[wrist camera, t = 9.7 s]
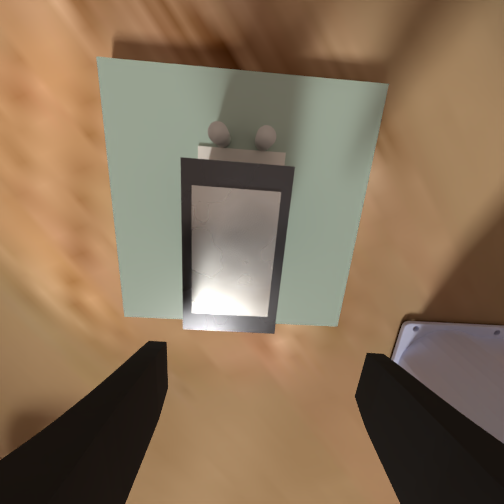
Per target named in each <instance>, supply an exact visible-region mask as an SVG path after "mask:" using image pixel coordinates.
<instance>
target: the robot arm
mask: <svg viewBox="0 0 504 504" xmlns="http://www.w3.org/2000/svg"><path fill="white" fill-rule="evenodd" d="M415 326H416V327H415ZM414 327H415V328H414ZM167 389H168V374H167V344H166V342H158V341H148V342H147V343H146V344H145V345H144V346H142V347H141V348H140V349H139V350H138V351H137V352H136V353H135V354H134V355H132V356H131V357H130V358H129V359H128V360H127V361H126V362H125V363H124V364H122V365H121V366H120V367H119V368H118V369H117V370H116V371H115V372H113V373H112V374H111V375H110V376H109V377H108V378H106V379H105V380H104V381H103V382H102V383H101V384H99V385H98V386H97V387H96V388H95V389H94V390H92V391H91V392H90V393H89V394H88V395H86V396H85V397H84V398H83V399H81V400H80V401H79V402H78V403H76V404H75V405H74V406H73V407H71V408H70V409H69V410H68V411H66V412H65V413H64V414H63V415H62V416H60V417H59V418H58V419H56V420H55V421H54V422H52V423H51V424H50V425H49V426H47V427H46V428H45V429H43V430H42V431H41V432H39V433H38V434H36V435H35V436H34V437H32V438H31V439H30V440H28V441H27V442H25V443H24V444H23V445H21V446H20V447H18V448H17V449H16V450H14V451H13V452H11V453H10V454H9V455H7V456H6V457H4V458H3V459H1V460H0V504H125V503H126V500H127V498H128V495H129V493H130V490H131V488H132V485H133V483H134V480H135V478H136V475H137V473H138V470H139V468H140V465H141V463H142V460H143V458H144V455H145V453H146V450H147V448H148V445H149V443H150V440H151V438H152V435H153V433H154V430H155V428H156V425H157V423H158V420H159V417H160V414H161V410H162V407H163V403H164V400H165V396H166V393H167ZM355 398H356V401H357V404H358V407H359V411H360V414H361V416H362V419H363V422H364V425H365V428H366V430H367V432H368V435H369V437H370V439H371V441H372V443H373V446H374V448H375V450H376V452H377V454H378V457H379V459H380V461H381V463H382V465H383V467H384V469H385V472H386V474H387V476H388V478H389V480H390V482H391V484H392V487H393V489H394V491H395V493H396V495H397V497H398V500H399V502H400V504H504V326H503V325H482V324H462V323H441V322H420V321H406V322H404V323H403V324H402V326H401V329H400V333H399V336H398V339H397V342H396V345H395V349H394V352H393V355H392V358H391V359H390V358H389V357H387V356H386V355H384V354H376V353H367V355H366V358H365V362H364V365H363V369H362V373H361V376H360V380H359V383H358V387H357V391H356V394H355Z"/></svg>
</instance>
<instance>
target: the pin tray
mask: <svg viewBox="0 0 504 504" xmlns="http://www.w3.org/2000/svg"><path fill="white" fill-rule="evenodd" d="M96 58H97V67H98V76H99V86H100V95H101V104H102V113H103V123H104V132H105V141H106V150H107V160H108V169H109V178H110V187H111V197H112V206H113V215H114V224H115V234H116V243H117V252H118V261H119V271H120V280H121V289H122V298H123V308H124V317H146V318H167V319H183V295H182V226H181V158H180V157H184V158H196V159H208V160H220V161H233V162H245V163H257V164H269V165H281V166H293V167H295V171H294V179H293V187H292V195H291V203H290V211H289V219H288V227H287V235H286V243H285V251H284V259H283V267H282V275H281V283H280V291H279V299H278V307H277V315H276V323H275V324H295V325H316V326H338V321H339V316H340V312H341V307H342V302H343V297H344V293H345V288H346V283H347V279H348V274H349V269H350V264H351V260H352V255H353V250H354V246H355V241H356V236H357V231H358V227H359V222H360V217H361V213H362V208H363V203H364V198H365V194H366V189H367V184H368V180H369V175H370V170H371V165H372V161H373V156H374V151H375V147H376V142H377V137H378V133H379V128H380V123H381V118H382V114H383V109H384V104H385V100H386V95H387V90H388V85H389V84H385V83H374V82H363V81H353V80H342V79H331V78H320V77H310V76H299V75H288V74H278V73H267V72H256V71H245V70H235V69H224V68H213V67H203V66H192V65H181V64H171V63H160V62H149V61H138V60H128V59H117V58H106V57H96Z"/></svg>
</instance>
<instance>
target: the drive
mask: <svg viewBox="0 0 504 504" xmlns="http://www.w3.org/2000/svg"><path fill="white" fill-rule="evenodd" d="M180 158H181V226H182V295H183V329H192V330H212V331H232V332H252V333H272V334H274V331H275V323H276V315H277V307H278V299H279V291H280V283H281V275H282V267H283V259H284V251H285V243H286V235H287V227H288V219H289V211H290V203H291V195H292V187H293V179H294V171H295V167H293V166H281V165H269V164H257V163H245V162H233V161H220V160H208V159H196V158H184V157H180Z"/></svg>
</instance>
